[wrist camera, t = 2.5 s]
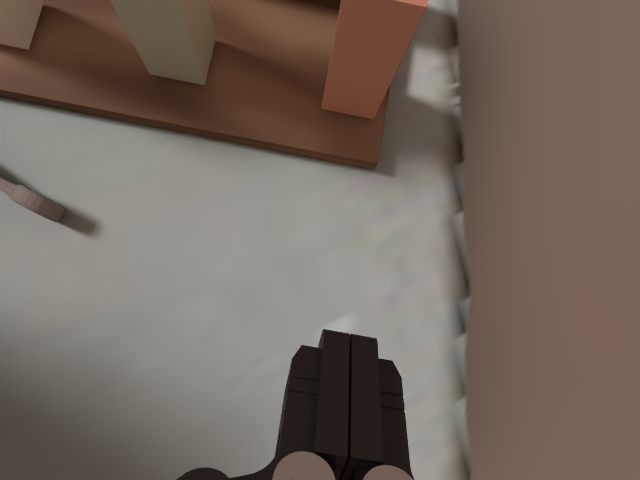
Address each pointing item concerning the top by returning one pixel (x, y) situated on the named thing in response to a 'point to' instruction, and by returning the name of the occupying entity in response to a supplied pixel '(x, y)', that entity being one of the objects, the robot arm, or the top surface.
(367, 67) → the terracotta key
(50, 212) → the combination wrench
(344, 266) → the top surface
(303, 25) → the brown wooden base
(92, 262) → the top surface
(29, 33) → the tan upright block
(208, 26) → the sage key
